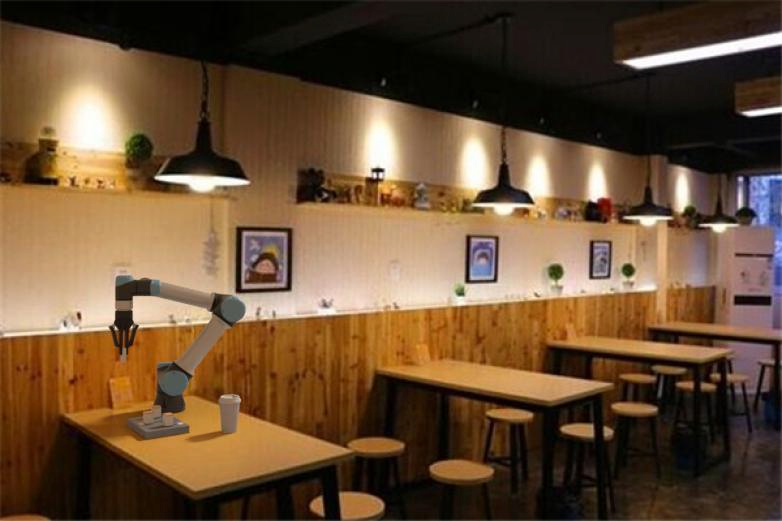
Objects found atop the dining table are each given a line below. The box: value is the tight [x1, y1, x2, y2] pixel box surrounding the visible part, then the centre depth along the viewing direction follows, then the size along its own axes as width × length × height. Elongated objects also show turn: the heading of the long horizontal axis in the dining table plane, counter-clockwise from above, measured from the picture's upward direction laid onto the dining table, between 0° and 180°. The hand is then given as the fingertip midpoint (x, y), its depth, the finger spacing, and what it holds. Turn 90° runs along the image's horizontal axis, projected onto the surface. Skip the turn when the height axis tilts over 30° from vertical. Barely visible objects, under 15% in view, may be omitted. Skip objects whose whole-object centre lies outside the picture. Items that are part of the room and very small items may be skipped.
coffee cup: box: [217, 393, 242, 434], centre depth 296 cm, size 10×10×15 cm
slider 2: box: [162, 413, 174, 426], centre depth 292 cm, size 3×4×5 cm
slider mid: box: [142, 409, 154, 424], centre depth 294 cm, size 3×4×5 cm
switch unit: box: [126, 413, 190, 440], centre depth 297 cm, size 18×26×3 cm
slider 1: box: [150, 405, 162, 418], centre depth 304 cm, size 3×4×5 cm
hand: (123, 362), depth 309 cm, fingers closed
